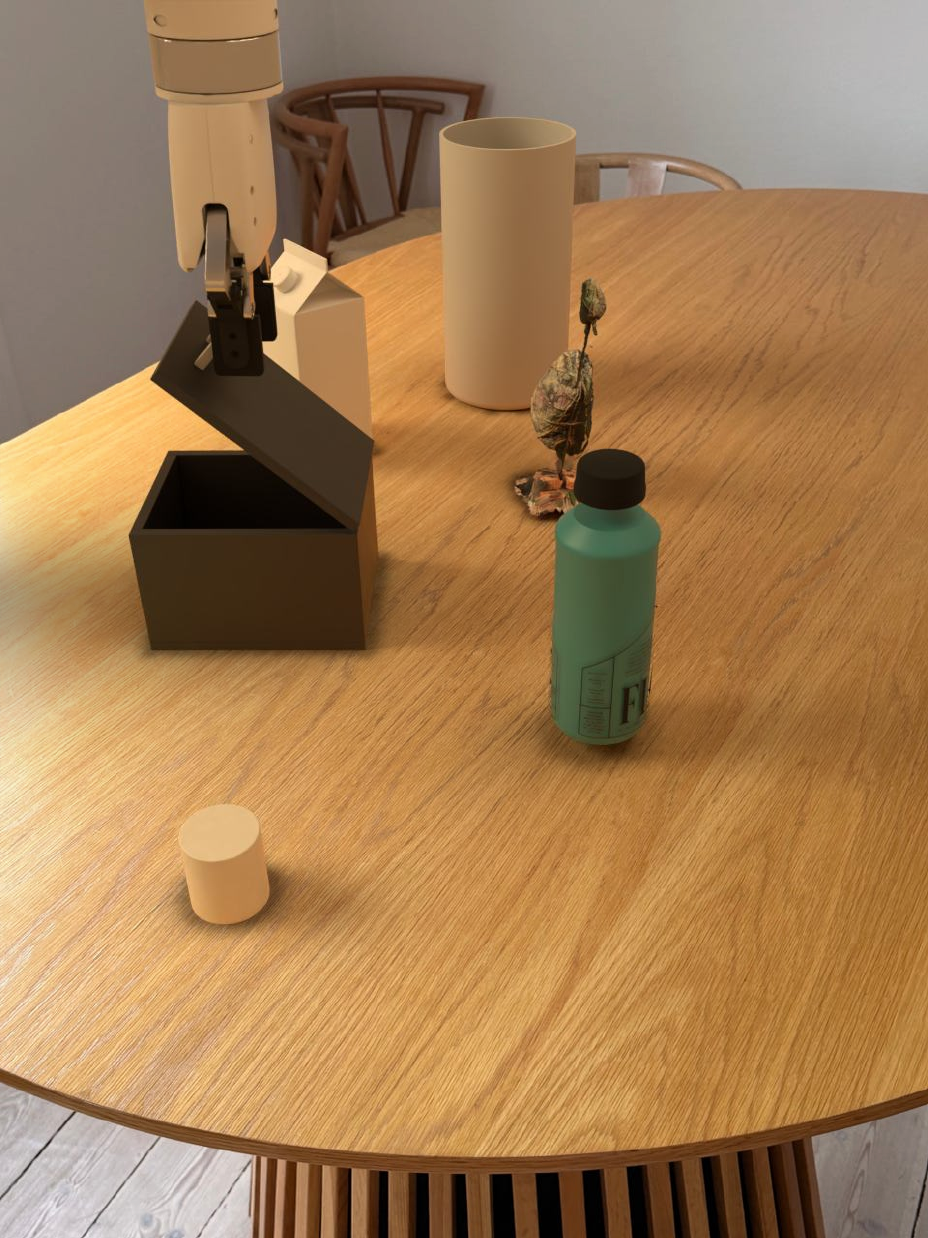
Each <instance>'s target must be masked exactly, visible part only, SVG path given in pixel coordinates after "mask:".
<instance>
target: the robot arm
mask: <svg viewBox="0 0 928 1238" xmlns="http://www.w3.org/2000/svg"><path fill="white" fill-rule="evenodd" d="M142 1H143V8H144V9H143V10H144V15H145V16H144V17H145V24H146V25H145V26H146V31H147V39H148V46H149V53H150V54H149V55H150V59H151V60H150V62H151V69H152V77H153V83H154V84H153V85H154V90H155V91H154V92H155V95H156V96H157V97H158V98H160V99H163V100H166V101H168V102H167V103H168V105H167V134H168V135H167V136H168V138H167V140H168V154H169V155H168V158H169V171H170V173H169V174H170V185H171V196H172V209H173V220H174V229H175V240H176V241H175V242H176V252H177V261H178V265H179V267H180V268H181V269H182V271H184V272H185V273H193V272H194V270H195V269H197V268H198V266H199V264H200V262H201V261H202V259H203V258H204V288H205V293H206V306H207V307H206V308H207V309H208V321H209V329H210V337H211V345H212V354H213V362H214V370H215V373H216V374H217V375H219V376H261V375H262V374H263V372H264V370H265V364H264V354H263V343H262V342H272V341H275V340H276V338H277V335H278V331H277V320H276V309H275V297H274V286H273V283H266V282H263V281H270V280H271V268H272V267H271V259H270V254H269V248H270V246H271V243H272V241H273V238H274V236H275V233H276V230H277V222H278V219H277V218H278V213H277V211H278V210H277V191H276V190H277V189H276V175H275V174H276V173H275V163H274V152H273V141H272V133H271V121H270V111H269V106H268V105H269V104H268V99H270V98H273V97H275V96H278V95H280V94H281V93H283V91H284V87H285V86H284V79H283V63H282V51H281V39H280V38H281V37H280V29H279V28H280V22H279V21H280V20H279V12H278V11H279V9H278V0H142ZM241 291H242V295H241ZM254 301H255V311H254Z"/></svg>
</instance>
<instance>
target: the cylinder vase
mask: <svg viewBox="0 0 928 1238" xmlns="http://www.w3.org/2000/svg"><path fill="white" fill-rule="evenodd" d="M438 133H439V134H438V138H439V139H438V140H439V142H438V143H439V180H440V184H439V185H440V220H441V221H440V223H441V224H440V225H441V263H442V265H441V266H442V305H443V306H442V307H443V339H444V340H443V349H444V382H445V386H446V388H447V390H448V391H449V393H450V395H452V396H453V397H454V398H456V399H457V400H458V401H461V402H462V403H464V404H466V405H469V406H472V407H476V408H481V409H484V410H485V409H486V410H493V411H494V410H495V411H518V410H526V409H531V398H532V396H533V393H534V390H535V389H536V387H537V385H538V382H539V381H540V380H541V379H542V378H543V377H544V376H545V373H546V372H547V371H548V369H549V368H550V366H551V365H552V364H553V362H554V361H556V360H557V359H558V358H559V356H560V355H562V354H563V353H564V352H566V351H569V340H570V339H569V337H570V311H571V310H570V309H571V287H572V286H571V285H572V284H571V283H572V259H573V258H572V257H573V255H572V253H573V232H574V231H573V229H574V206H575V205H574V203H575V201H574V200H575V180H576V179H575V177H576V175H575V174H576V149H577V148H576V147H577V130H576V129H574V128H573V127H572V126H570V125H569V124H565V123H563V122H559V121H555V120H550V119H543V118H535V117H522V116H521V117H519V116H499V117H484V118H483V117H482V118H476V119H469V120H464V121H463V120H462V121H459V122H455V123H452V124H449V125H447V126H445V127H443V128H442V129H441V130H439V132H438Z"/></svg>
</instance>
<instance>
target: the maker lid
mask: <svg viewBox="0 0 928 1238" xmlns="http://www.w3.org/2000/svg"><path fill="white" fill-rule="evenodd" d="M241 295H242V291H241ZM190 305H191V306H189V308H188V310H187V312H186V314H185V315H184V317H183V319H182V321H181V323H180V324H179V327H178V328H177V329H176V332H175V333H174V335H173V337H172V339H171V340H170V343H169V344H168V346H167V348H166V349H165V351H164V353H163V355H162V356H161V359H160V360H159V362H158V364H157V366H156V367H155V369H154V371H153V373H152V375H151V376H150V378H149V380H150V381H151V383H153V384H154V385H156V386H157V387H159V388H160V389H162V390H163V391H164V392H165V393H167V395H169V396H171V397H172V398H173V399H174V400H176V401H177V402H179V403H180V404H181V405H183V406H184V407H185V408H187V409H188V410H190V411H191V412H192V413H194V414H195V415H196V416H198V417H199V418H200V419H202V420H203V421H204V422H206V423H207V424H208V425H209V426H211V427H212V428H213V429H215V430H216V431H218V432H219V433H220V434H222V436H224V437H225V438H227V439H228V440H229V441H230V442H232V443H234V444H235V445H236V446H237V447H239V448H240V449H241V450H244V451H246V452H247V453H248V454H250V455H251V456H252V457H254V458H255V459H256V460H258V461H259V462H260V463H262V464H263V465H264V466H266V467H267V468H268V469H270V470H271V471H272V472H274V473H275V474H276V475H278V476H279V477H280V478H282V479H283V480H284V481H286V482H287V483H288V484H290V485H291V486H292V487H294V488H295V489H296V490H298V491H299V492H300V493H302V494H303V495H304V496H306V497H307V498H308V499H310V500H311V501H312V502H314V503H315V504H316V505H318V506H319V507H320V508H322V509H323V510H324V511H326V512H327V513H328V514H330V515H331V516H332V517H334V518H335V519H336V520H338V521H339V522H340V523H342V524H343V525H344V526H346V527H347V528H348V529H350V530H351V531H354V530H355V529H356V528H357V527H358V526H359V525H360V522H361V517H362V511H363V505H364V499H365V493H366V487H367V481H368V476H369V470H370V464H371V458H372V459H373V452H374V447H375V440H374V438H373V439H372V438H370V437H369V436H368V435H367V434H365V433H364V432H363V431H361V430H360V429H359V428H358V427H356V426H355V425H354V424H353V423H351V422H350V421H349V420H348V419H346V418H345V417H344V416H343V415H341V414H340V413H339V412H337V411H336V410H335V409H334V408H332V407H331V406H330V405H329V404H327V403H326V402H325V401H324V400H322V399H321V398H320V397H319V396H317V395H316V394H315V393H313V392H312V391H311V390H310V389H308V388H307V387H306V386H305V385H303V384H302V383H301V382H300V381H298V380H297V379H296V378H294V377H293V376H292V375H291V374H289V373H288V372H287V371H286V370H284V369H283V368H282V367H281V366H279V365H278V364H277V363H276V362H274V361H273V360H272V359H270V358H269V357H268V356H267V355H265V354H264V353H263V354H264V364H265V370H264V372H263V374H262V375H261V376H219V375H217V374H216V373H215V370H214V362H213V354H212V345H211V337H210V329H209V321H208V308H207V307H206V306H205V305H204V304H202V303H201V302H200V301H199V300H197V299H195V300H194V301H193V303H192V304H190ZM254 311H255V301H254Z"/></svg>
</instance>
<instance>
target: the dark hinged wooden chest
mask: <svg viewBox="0 0 928 1238" xmlns="http://www.w3.org/2000/svg"><path fill="white" fill-rule="evenodd" d="M376 511H377V510H376V497H375V481H374V463H373V457H372V458H371V464H370V470H369V476H368V481H367V487H366V493H365V499H364V505H363V511H362V517H361V522H360V525H359V526H358V527H357V528H356V529H355V530H354V531H351V530H350V529H348V528H347V527H346V526H344V525H343V524H342V523H340V522H339V521H338V520H336V519H335V518H334V517H332V516H331V515H330V514H328V513H327V512H326V511H324V510H323V509H322V508H320V507H319V506H318V505H316V504H315V503H314V502H312V501H311V500H310V499H308V498H307V497H306V496H304V495H303V494H302V493H300V492H299V491H298V490H296V489H295V488H294V487H292V486H291V485H290V484H288V483H287V482H286V481H284V480H283V479H282V478H280V477H279V476H278V475H276V474H275V473H274V472H272V471H271V470H270V469H268V468H267V467H266V466H264V465H263V464H262V463H260V462H259V461H258V460H256V459H255V458H254V457H252V456H251V455H250V454H248V453H247V452H246V451H244V450H243V449H236V450H235V449H233V450H232V449H231V450H230V449H223V450H219V449H214V450H211V449H208V450H207V449H206V450H204V449H203V450H201V449H199V450H197V449H196V450H192V449H191V450H185V449H184V450H167V452H166V455H165V457H164V459H163V461H162V463H161V465H160V468H159V470H158V471H157V473H156V476H155V478H154V479H153V482H152V485H151V487H150V489H149V490H148V493H147V495H146V497H145V499H144V501H143V503H142V505H141V508H140V510H139V512H138V514H137V516H136V518H135V520H134V522H133V524H132V526H131V529H130V530H129V533H128V540H129V546H130V551H131V555H132V561H133V565H134V570H135V576H136V581H137V586H138V591H139V595H140V596H139V597H140V602H141V606H142V611H143V616H144V621H145V626H146V627H145V628H146V632H147V636H148V641H149V645H150V646H149V647H150V650H151V651H366V649H367V643H368V636H369V628H370V621H371V615H372V607H373V601H374V593H375V586H376V578H377V572H378V564H379V544H378V542H379V541H378V527H377V512H376Z"/></svg>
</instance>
